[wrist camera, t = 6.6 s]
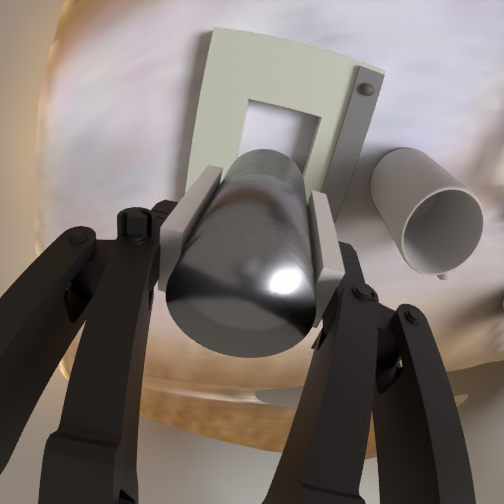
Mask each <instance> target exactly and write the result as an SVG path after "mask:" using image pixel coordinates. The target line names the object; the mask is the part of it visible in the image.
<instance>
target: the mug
mask: <svg viewBox="0 0 504 504" xmlns="http://www.w3.org/2000/svg"><path fill="white" fill-rule="evenodd" d="M370 192H371V197H372V200H373V202H374V204H375V206H376V208H377V210H378V211H379V213H380V214H381V216H382V218H383V220H384V222H385V224H386V225H387V227H388V229H389V231H390V233H391V235H392V237H393V239H394V241H395V243H396V245H397V247H398V249H399V251H400V253H401V255H402V257H403V258H404V260H405V261H406V263H407V264H408V265H409V266H410V267H411V268H412V269H414V270H415V271H417V272H419V273H422V274H426V275H437V277H438V278H439V279H441V280H446V279H448V278H449V277H450V276H451V271H452V270H454V269H456V268H458V267H459V266H461V265H462V264H463V263H465V262H466V261H467V260H468V259H469V258H470V257H471V256H472V254H473V253H474V252H475V250H476V249H477V247H478V245H479V243H480V241H481V238H482V235H483V231H484V224H485V219H484V212H483V208H482V205H481V203H480V201H479V200H478V198H477V197H476V196H475V195H474V194H473V193H472V192H471V191H470V190H469V189H468V188H467V187H466V186H465V185H464V184H462V183H461V182H460V181H459V180H458V179H456V178H455V177H454V176H453V175H451V174H450V173H449V172H448V171H446V170H445V169H444V168H443V167H441V166H440V165H439V164H437V163H436V162H435V161H434V160H433V159H431V158H430V157H429V156H428V155H426V154H425V153H423V152H421V151H419V150H416V149H411V148H402V149H397V150H394V151H392V152H390V153H388V154H387V155H385V156H384V157H383V158H382V159H381V160H380V161H379V162H378V164H377V165H376V167H375V169H374V170H373V173H372V176H371V181H370Z"/></svg>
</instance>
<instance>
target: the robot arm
mask: <svg viewBox="0 0 504 504" xmlns="http://www.w3.org/2000/svg"><path fill="white" fill-rule="evenodd" d="M222 170H223V168H221V167H216V166H212V165H208V166H207V167H206V168H205V170H204V171H203V172H202V173H201V175H200V176H199V177H198V178H197V180H196V181H195V182H194V184H193V185H192V186H191V187H190V189H189V190H188V191H187V193H186V194H185V195H184V196H183V198H182V199H181V200H180V202H179V203H178V202H174V201H169V200H163V201H161V202H159V203H157V204H156V205H155V206H154V207H153V208H152V209H151V210H148V209H146V208H141V207H132V208H127V209H124V210H122V211H120V212H119V213H118V215H117V233H118V237H117V239H116V240H97V239H96V233H95V231H94V230H93V229H91V228H89V227H84V226H79V227H78V226H77V227H73V228H70V229H68V230H66V231H65V232H63V233H62V234H61V235H60V236H59V237H58V238H57V239H56V240H55V241H54V242H53V243H52V244H51V245H50V246H49V247H48V248H47V249H46V250H45V251H44V252H43V253H42V254H41V255H40V256H39V257H38V258H37V259H36V260H35V261H34V262H33V263H32V264H31V265H30V266H29V267H28V268H27V269H26V270H25V271H24V272H23V273H22V274H21V275H20V277H19V278H18V279H17V280H16V281H15V282H14V283H13V284H12V285H11V286H10V288H9V289H8V290H7V291H6V292H5V293H4V294H3V295H2V297H1V298H0V474H1V473H2V471H3V470H4V468H5V467H6V465H7V463H8V461H9V459H10V457H11V455H12V453H13V451H14V449H15V446H16V444H17V442H18V440H19V438H20V436H21V433H22V432H23V429H24V427H25V425H26V423H27V421H28V419H29V417H30V415H31V413H32V411H33V410H34V408H35V406H36V404H37V402H38V400H39V398H40V396H41V394H42V393H43V390H44V389H45V387H46V385H47V383H48V382H49V380H50V378H51V376H52V374H53V373H54V371H55V369H56V368H57V366H58V364H59V363H60V361H61V359H62V357H63V356H64V354H65V352H66V351H67V349H68V347H69V346H70V344H71V343H72V341H73V339H74V338H75V336H76V335H77V333H78V331H79V330H80V328H81V327H82V325H83V324H84V322H85V320H86V322H85V326H84V329H83V332H82V335H81V339H80V342H79V345H78V349H77V352H76V356H75V360H74V363H73V367H72V371H71V375H70V379H69V383H68V388H67V392H66V396H65V401H64V406H63V410H62V415H61V420H60V424H59V428H58V429H57V431H55V432H54V433H52V434H50V436H49V438H48V439H47V442H46V445H45V449H44V455H43V462H42V470H41V479H40V488H39V500H38V504H138V480H137V471H136V464H137V440H138V424H139V411H140V399H141V388H142V379H143V369H144V361H145V353H146V345H147V337H148V330H149V323H150V317H151V310H152V304H153V298H154V286H155V284H156V283H157V281H158V290H160V291H164V292H166V285H167V282H168V279H169V277H170V275H171V273H172V271H173V269H174V267H175V265H176V263H177V262H178V260H179V258H180V256H181V254H182V252H183V250H184V248H185V246H186V244H187V243H188V241H189V239H190V237H191V235H192V233H193V232H194V230H195V228H196V226H197V224H198V222H199V221H200V219H201V217H202V215H203V213H204V212H205V210H206V208H207V206H208V204H209V203H210V201H211V199H212V197H213V196H214V194H215V192H216V190H217V189H218V187H219V185H220V181H221V176H222ZM307 209H308V218H309V227H310V237H311V247H312V258H313V269H314V281H315V294H316V317H315V321H314V323H313V326H312V327H315V328H317V327H318V325H319V323H320V321H321V319H322V320H323V328H322V330H321V331H320V333H319V335H318V337H317V339H316V340H315V342H314V344H313V346H312V347H311V349H314V348H315V349H314V353H313V357H312V360H311V364H310V368H309V371H308V375H307V378H306V382H305V385H304V389H303V392H302V395H301V398H300V402H299V405H298V408H297V411H296V414H295V417H294V420H293V424H292V427H291V430H290V433H289V436H288V439H287V441H286V444H285V447H284V450H283V453H282V456H281V459H280V461H279V464H278V467H277V469H276V472H275V475H274V477H273V480H272V483H271V485H270V488H269V491H268V493H267V496H266V497H265V500H264V501H263V502H262V504H365V500H364V499H363V498H362V497H361V496H360V495H359V484H360V479H361V475H362V470H363V465H364V459H365V454H366V448H367V441H368V435H369V428H370V420H371V413H372V414H373V422H374V431H375V440H376V450H377V462H378V474H379V492H380V504H476V501H475V493H474V486H473V480H472V473H471V468H470V463H469V457H468V452H467V448H466V443H465V438H464V434H463V430H462V426H461V422H460V418H459V414H458V411H457V407H456V403H455V400H454V396H453V393H452V390H451V386H450V383H449V380H448V377H447V374H446V371H445V368H444V365H443V362H442V359H441V356H440V353H439V350H438V347H437V345H436V342H435V339H434V337H433V334H432V331H431V329H430V326H429V324H428V321H427V319H426V317H425V315H424V314H423V313H422V312H421V311H420V310H419V309H418V308H416V307H415V306H412V305H410V304H401V305H399V307H398V308H397V310H396V311H394V310H392V309H390V308H388V307H386V306H384V305H382V304H380V303H378V302H379V299H378V295H377V293H376V292H375V291H374V289H372V288H371V287H370V286H369V285H367V284H365V280H364V277H363V273H362V270H361V267H360V263H359V261H358V256H357V253H356V251H355V250H354V249H353V247H352V246H351V245H350V244H347V243H343V242H339V241H338V239H337V235H336V231H335V227H334V223H333V219H332V215H331V211H330V207H329V203H328V200H327V196H326V194H324V193H320V192H317V191H313V190H312V191H311V194H310V197H309V200H308V203H307ZM400 360H402V367H401V366H400V362H399V361H400Z"/></svg>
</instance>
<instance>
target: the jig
mask: <svg viewBox="0 0 504 504" xmlns="http://www.w3.org/2000/svg"><path fill="white" fill-rule="evenodd" d="M384 74H385V70H383V69H380V68H378V67H375V66H373V65H370V64H367V63H365V62H362V61H359V60H356V59H353V58H351V57H348V56H345V55H342V54H338V53H335V52H332V51H329V50H325V49H322V48H319V47H315V46H311V45H308V44H304V43H300V42H296V41H292V40H287V39H283V38H279V37H274V36H269V35H264V34H259V33H253V32H247V31H241V30H234V29H227V28H219V27H214V29H213V34H212V38H211V42H210V47H209V52H208V56H207V61H206V66H205V71H204V76H203V81H202V86H201V92H200V97H199V103H198V108H197V114H196V120H195V126H194V133H193V139H192V146H191V152H190V159H189V166H188V174H187V182H186V189H185V194H186V193H187V191H188V190H189V189H190V187H191V186H192V185H193V184H194V182H195V181H196V180H197V178H198V177H199V176H200V175H201V173H202V172H203V171H204V170H205V168H206V167H207V166H208V165H212V166H216V167H221V168H223V170H222V176H221V181H220V183H221V182H222V180H223V178H224V177H225V175H226V173H227V171H228V170H229V168H230V166H231V165H232V164H233V162H234V161H235V160H236V159H237V155H238V151H239V146H240V141H241V137H242V132H243V127H244V123H245V118H246V114H247V109H248V105H249V100H250V99H252V100H256V101H261V102H265V103H270V104H274V105H278V106H282V107H286V108H290V109H294V110H298V111H301V112H305V113H309V114H312V115H316V116H319V119H318V123H317V126H316V129H315V133H314V136H313V140H312V143H311V147H310V150H309V154H308V157H307V160H306V164H305V167H304V170H303V174H302V176H303V179H304V184H305V192H306V200H307V203H308V200H309V197H310V194H311V191H312V190H313V191H317V192H320V193H324V194H326V196H327V200H328V203H329V207H330V211H331V215H332V219H333V223H335V221H336V218H337V215H338V213H339V210H340V208H341V205H342V202H343V200H344V197H345V194H346V191H347V189H348V186H349V183H350V180H351V178H352V175H353V172H354V169H355V166H356V163H357V161H358V158H359V155H360V152H361V149H362V146H363V143H364V140H365V137H366V134H367V131H368V128H369V125H370V122H371V118H372V115H373V112H374V109H375V106H376V102H377V99H378V96H379V92H380V89H381V86H382V82H383V79H384Z"/></svg>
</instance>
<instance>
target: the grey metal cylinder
mask: <svg viewBox="0 0 504 504" xmlns="http://www.w3.org/2000/svg"><path fill="white" fill-rule="evenodd" d="M166 302H167V307H168V310H169V312H170V314H171V316H172V318H173V320H174V321H175V323H176V324H177V325H178V327H179V328H180V329H181V330H182V331H183V332H184V333H185V334H186V335H187V336H189V337H190V338H191V339H193V340H194V341H195V342H197V343H199V344H200V345H202V346H204V347H206V348H208V349H210V350H213V351H215V352H218V353H221V354H225V355H229V356H235V357H243V358H257V357H266V356H271V355H275V354H278V353H281V352H284V351H286V350H288V349H290V348H292V347H293V346H295V345H296V344H298V343H299V342H300V341H301V340H303V339H304V337H305V336H306V335H307V334H308V333H309V331H310V330H311V328H312V326H313V323H314V321H315V317H316V294H315V281H314V269H313V258H312V247H311V237H310V227H309V218H308V209H307V200H306V192H305V184H304V179H303V176H302V173H301V171H300V169H299V168H298V166H297V165H296V164H295V163H294V161H293V160H291V159H290V158H289V157H287V156H286V155H284V154H282V153H280V152H277V151H274V150H269V149H258V150H253V151H250V152H247V153H245V154H243V155H242V156H240V157H239V158H237V159H236V160H235V161H234V162H233V164H232V165H231V166H230V168H229V170H228V171H227V173H226V175H225V177H224V178H223V180H222V182H221V183H220V185H219V187H218V189H217V190H216V192H215V194H214V196H213V197H212V199H211V201H210V203H209V204H208V206H207V208H206V210H205V212H204V213H203V215H202V217H201V219H200V221H199V222H198V224H197V226H196V228H195V230H194V232H193V233H192V235H191V237H190V239H189V241H188V243H187V244H186V246H185V248H184V250H183V252H182V254H181V256H180V258H179V260H178V262H177V263H176V265H175V267H174V269H173V271H172V273H171V275H170V277H169V279H168V282H167V285H166Z"/></svg>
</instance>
